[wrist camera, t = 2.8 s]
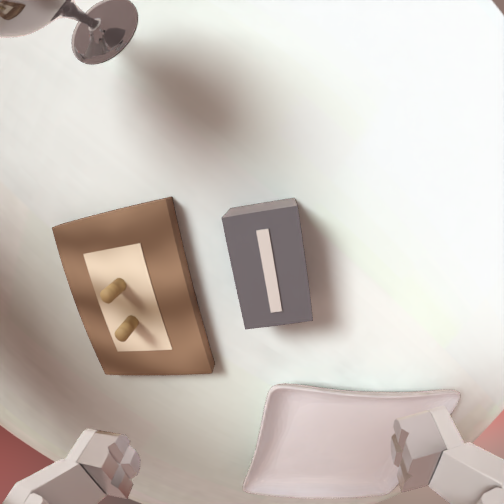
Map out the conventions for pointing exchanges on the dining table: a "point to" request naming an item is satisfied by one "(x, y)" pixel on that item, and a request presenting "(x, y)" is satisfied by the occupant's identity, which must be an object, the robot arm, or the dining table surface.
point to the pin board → (135, 290)
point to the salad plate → (332, 440)
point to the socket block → (268, 263)
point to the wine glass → (86, 31)
